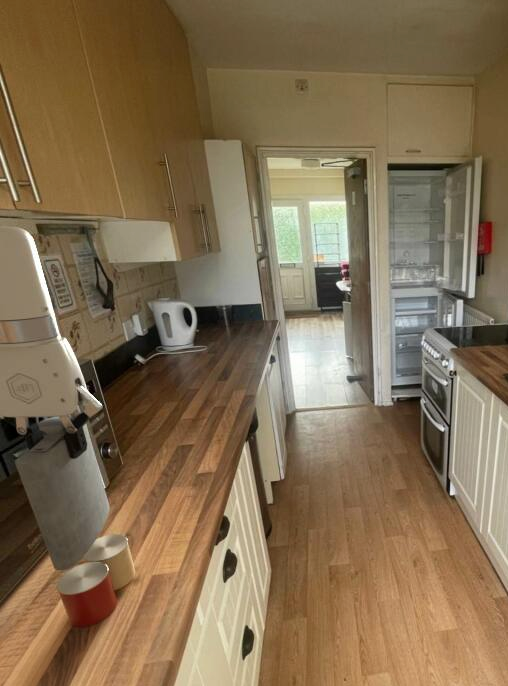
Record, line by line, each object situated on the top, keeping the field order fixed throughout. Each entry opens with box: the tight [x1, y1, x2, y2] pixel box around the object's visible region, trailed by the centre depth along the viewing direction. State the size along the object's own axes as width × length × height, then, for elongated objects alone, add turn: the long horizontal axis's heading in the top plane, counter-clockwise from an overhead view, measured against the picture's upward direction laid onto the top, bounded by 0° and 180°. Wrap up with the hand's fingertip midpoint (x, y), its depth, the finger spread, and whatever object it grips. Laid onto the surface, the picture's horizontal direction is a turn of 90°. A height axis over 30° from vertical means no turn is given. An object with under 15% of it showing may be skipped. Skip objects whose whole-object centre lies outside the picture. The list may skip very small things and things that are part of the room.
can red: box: [56, 562, 118, 628], centre depth 68 cm, size 7×7×7 cm
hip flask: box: [14, 417, 111, 571], centre depth 64 cm, size 16×4×20 cm, turn 13°
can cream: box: [82, 533, 136, 592], centre depth 75 cm, size 7×7×7 cm
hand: (60, 453), depth 62 cm, fingers closed on hip flask, 4 cm apart
